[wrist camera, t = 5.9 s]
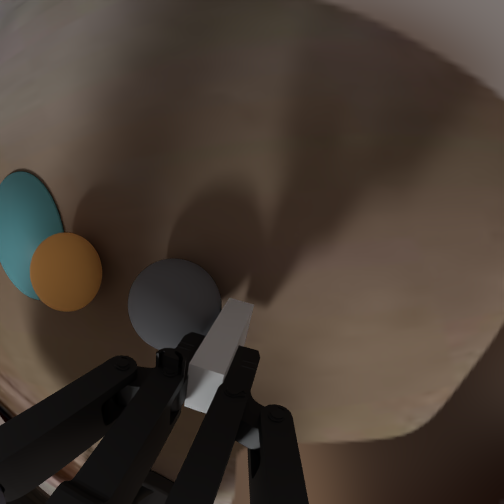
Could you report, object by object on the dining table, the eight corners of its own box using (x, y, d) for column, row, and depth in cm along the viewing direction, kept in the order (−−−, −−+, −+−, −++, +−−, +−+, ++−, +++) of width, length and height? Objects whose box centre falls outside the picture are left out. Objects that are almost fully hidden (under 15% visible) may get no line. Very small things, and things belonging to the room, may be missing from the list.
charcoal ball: (183, 357, 13) (94, 311, 15) (205, 375, 18) (133, 339, 19) (231, 258, 16) (145, 228, 17) (240, 299, 21) (169, 272, 22)
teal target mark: (88, 260, 21) (87, 260, 21) (33, 317, 25) (32, 318, 25) (25, 143, 20) (24, 143, 20) (-17, 222, 24) (-18, 222, 23)
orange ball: (129, 273, 21) (82, 305, 16) (90, 304, 23) (47, 336, 17) (89, 210, 20) (35, 227, 15) (55, 248, 22) (7, 270, 17)
